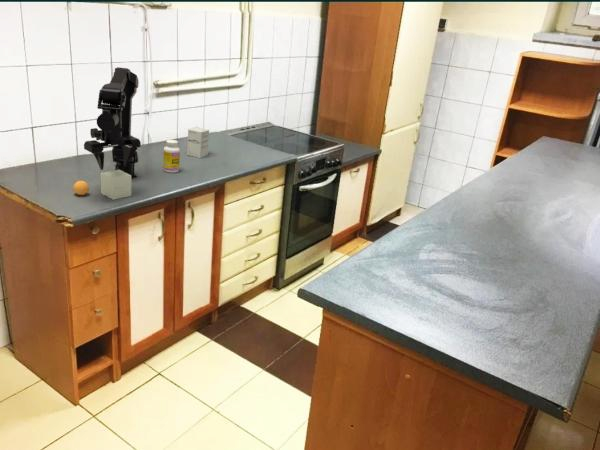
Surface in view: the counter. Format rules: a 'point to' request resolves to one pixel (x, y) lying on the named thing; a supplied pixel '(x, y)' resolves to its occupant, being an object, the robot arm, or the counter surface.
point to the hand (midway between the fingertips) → (113, 167)
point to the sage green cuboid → (115, 184)
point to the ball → (81, 187)
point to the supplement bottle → (171, 157)
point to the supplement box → (197, 142)
